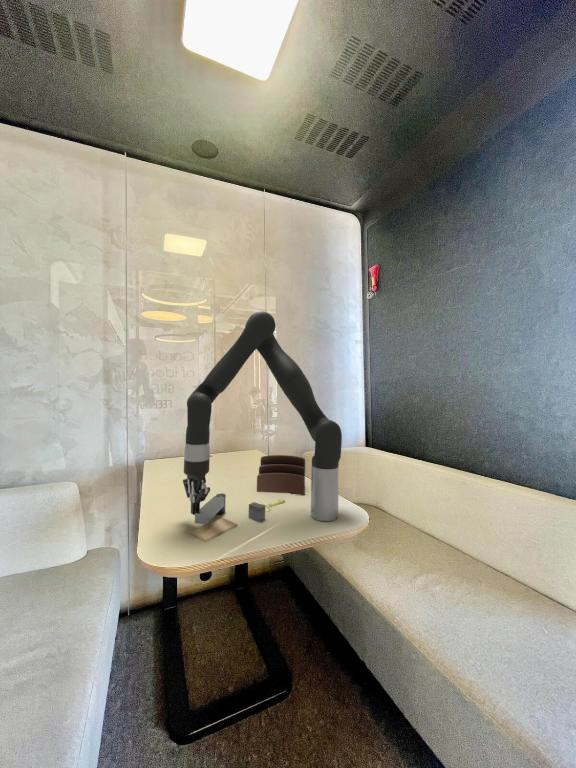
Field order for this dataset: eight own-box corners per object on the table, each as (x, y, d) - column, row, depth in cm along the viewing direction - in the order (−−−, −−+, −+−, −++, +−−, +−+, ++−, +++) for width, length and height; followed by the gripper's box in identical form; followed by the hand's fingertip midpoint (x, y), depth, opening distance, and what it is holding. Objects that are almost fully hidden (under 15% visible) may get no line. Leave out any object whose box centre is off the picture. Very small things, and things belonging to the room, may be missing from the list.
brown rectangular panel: (222, 521, 97) (222, 517, 97) (237, 528, 93) (237, 524, 93) (190, 535, 88) (190, 531, 88) (205, 543, 83) (205, 539, 83)
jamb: (226, 505, 109) (226, 492, 109) (264, 521, 98) (265, 505, 98) (203, 515, 101) (203, 500, 101) (242, 532, 90) (243, 516, 90)
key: (286, 504, 113) (286, 499, 113) (266, 516, 103) (266, 510, 103) (270, 500, 117) (270, 494, 117) (250, 511, 107) (250, 505, 107)
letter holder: (260, 485, 133) (260, 453, 133) (304, 487, 132) (305, 455, 132) (256, 493, 123) (257, 459, 123) (304, 495, 122) (305, 461, 122)
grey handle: (217, 510, 104) (217, 493, 104) (227, 511, 104) (227, 494, 104) (194, 533, 88) (194, 513, 88) (205, 534, 87) (206, 514, 87)
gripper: (219, 459, 90) (217, 517, 90) (197, 451, 99) (195, 503, 99) (196, 464, 85) (194, 525, 85) (175, 455, 94) (173, 510, 94)
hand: (195, 513), depth 92 cm, fingers closed
